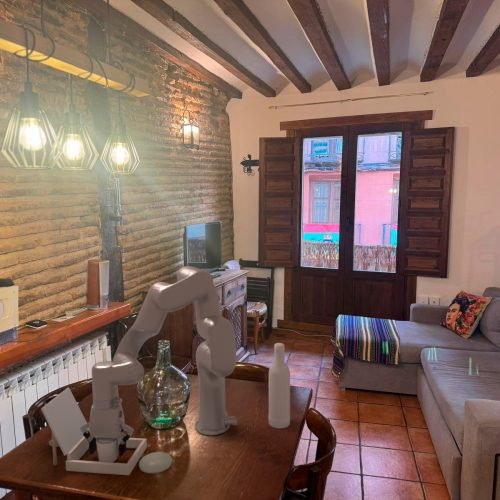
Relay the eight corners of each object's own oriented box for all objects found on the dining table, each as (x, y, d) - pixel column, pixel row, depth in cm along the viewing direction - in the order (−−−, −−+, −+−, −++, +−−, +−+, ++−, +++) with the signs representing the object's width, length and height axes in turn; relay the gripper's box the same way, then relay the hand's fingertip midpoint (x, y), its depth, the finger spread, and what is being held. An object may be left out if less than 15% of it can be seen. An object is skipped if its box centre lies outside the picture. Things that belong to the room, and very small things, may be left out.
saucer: (175, 455, 140) (175, 453, 140) (166, 474, 130) (166, 472, 130) (146, 453, 141) (145, 451, 141) (134, 472, 131) (134, 469, 131)
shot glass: (123, 454, 140) (123, 434, 140) (110, 466, 134) (109, 445, 133) (106, 450, 143) (105, 430, 142) (92, 462, 136) (91, 441, 135)
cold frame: (146, 447, 145) (144, 390, 142) (129, 475, 130) (126, 412, 128) (70, 442, 148) (67, 387, 146) (44, 469, 133) (40, 408, 131)
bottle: (279, 431, 154) (279, 349, 151) (264, 423, 160) (263, 344, 157) (294, 423, 159) (295, 344, 156) (279, 415, 165) (279, 339, 162)
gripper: (136, 397, 139) (138, 448, 141) (85, 394, 141) (87, 444, 143) (127, 408, 132) (129, 461, 133) (73, 405, 134) (76, 457, 135)
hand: (107, 452), depth 138 cm, fingers open, 9 cm apart
